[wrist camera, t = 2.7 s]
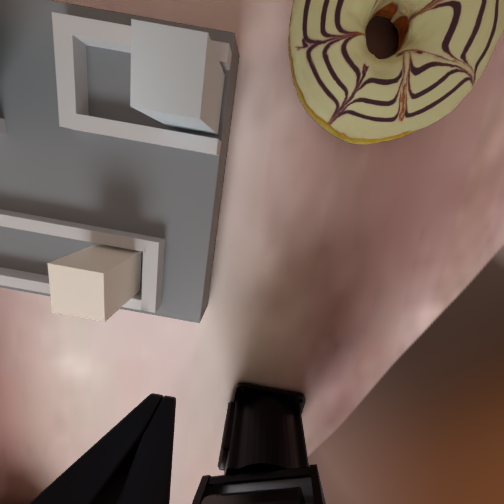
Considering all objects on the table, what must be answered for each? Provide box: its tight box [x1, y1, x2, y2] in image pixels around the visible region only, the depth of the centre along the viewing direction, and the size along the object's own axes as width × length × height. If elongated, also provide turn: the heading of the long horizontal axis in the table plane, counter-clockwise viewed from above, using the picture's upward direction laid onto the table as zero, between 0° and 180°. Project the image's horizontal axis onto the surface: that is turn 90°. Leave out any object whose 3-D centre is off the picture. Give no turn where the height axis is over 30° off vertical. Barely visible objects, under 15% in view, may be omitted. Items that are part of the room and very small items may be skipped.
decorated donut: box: [288, 0, 504, 144], centre depth 13 cm, size 10×11×4 cm
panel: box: [0, 0, 239, 323], centre depth 16 cm, size 20×18×4 cm
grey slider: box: [130, 19, 225, 135], centre depth 12 cm, size 3×3×4 cm
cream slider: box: [47, 244, 141, 322], centre depth 15 cm, size 3×3×4 cm
